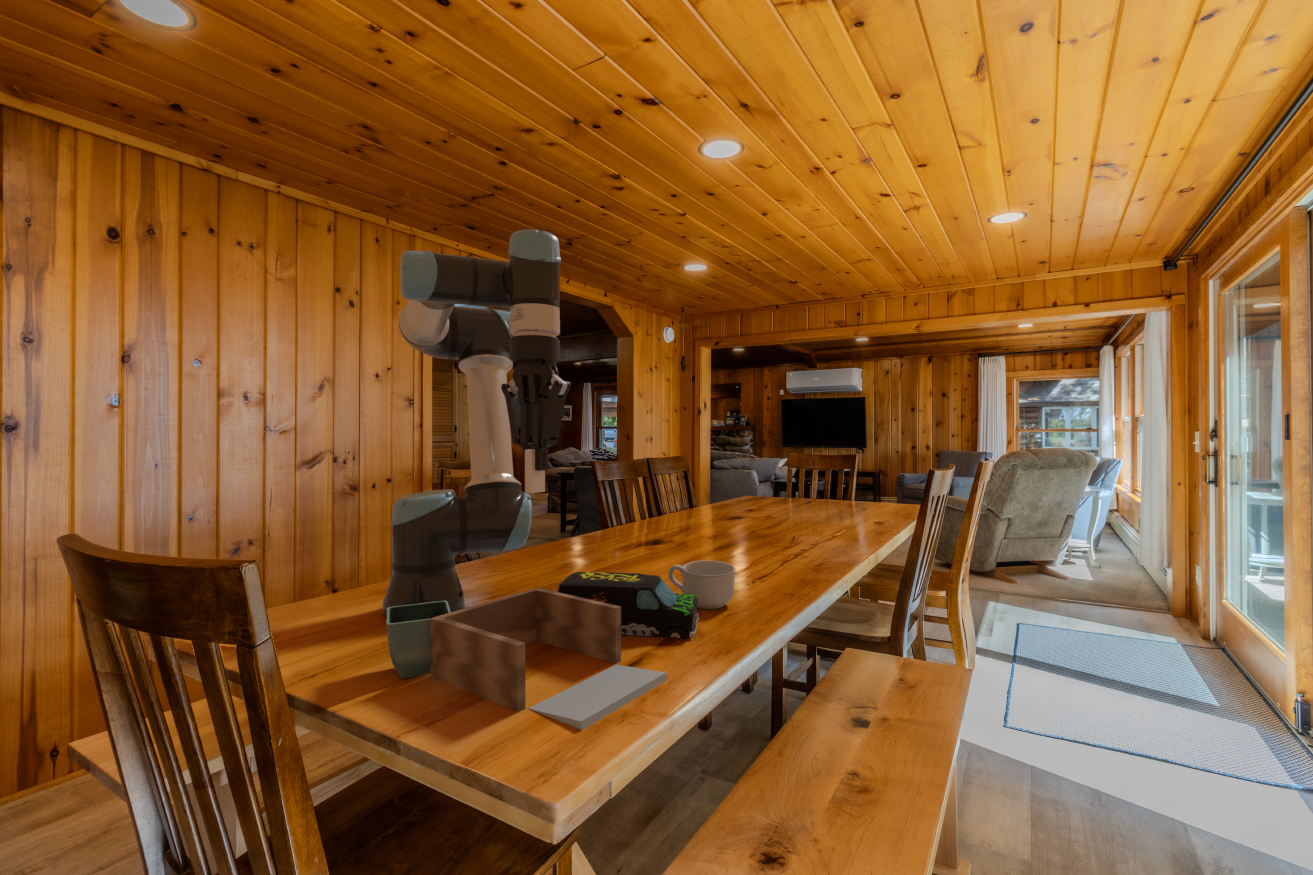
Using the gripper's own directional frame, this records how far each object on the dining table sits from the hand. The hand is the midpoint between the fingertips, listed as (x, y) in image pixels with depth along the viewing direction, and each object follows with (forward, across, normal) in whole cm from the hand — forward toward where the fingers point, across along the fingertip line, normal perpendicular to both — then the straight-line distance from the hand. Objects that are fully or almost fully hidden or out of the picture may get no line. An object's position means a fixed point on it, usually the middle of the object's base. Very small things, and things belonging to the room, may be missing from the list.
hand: (535, 491), depth 92 cm
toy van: (+27, +3, +19) cm, 33 cm away
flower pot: (+27, -12, -12) cm, 32 cm away
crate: (+26, +3, -4) cm, 27 cm away
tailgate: (+25, +12, -4) cm, 28 cm away
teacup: (+27, +4, +42) cm, 50 cm away
